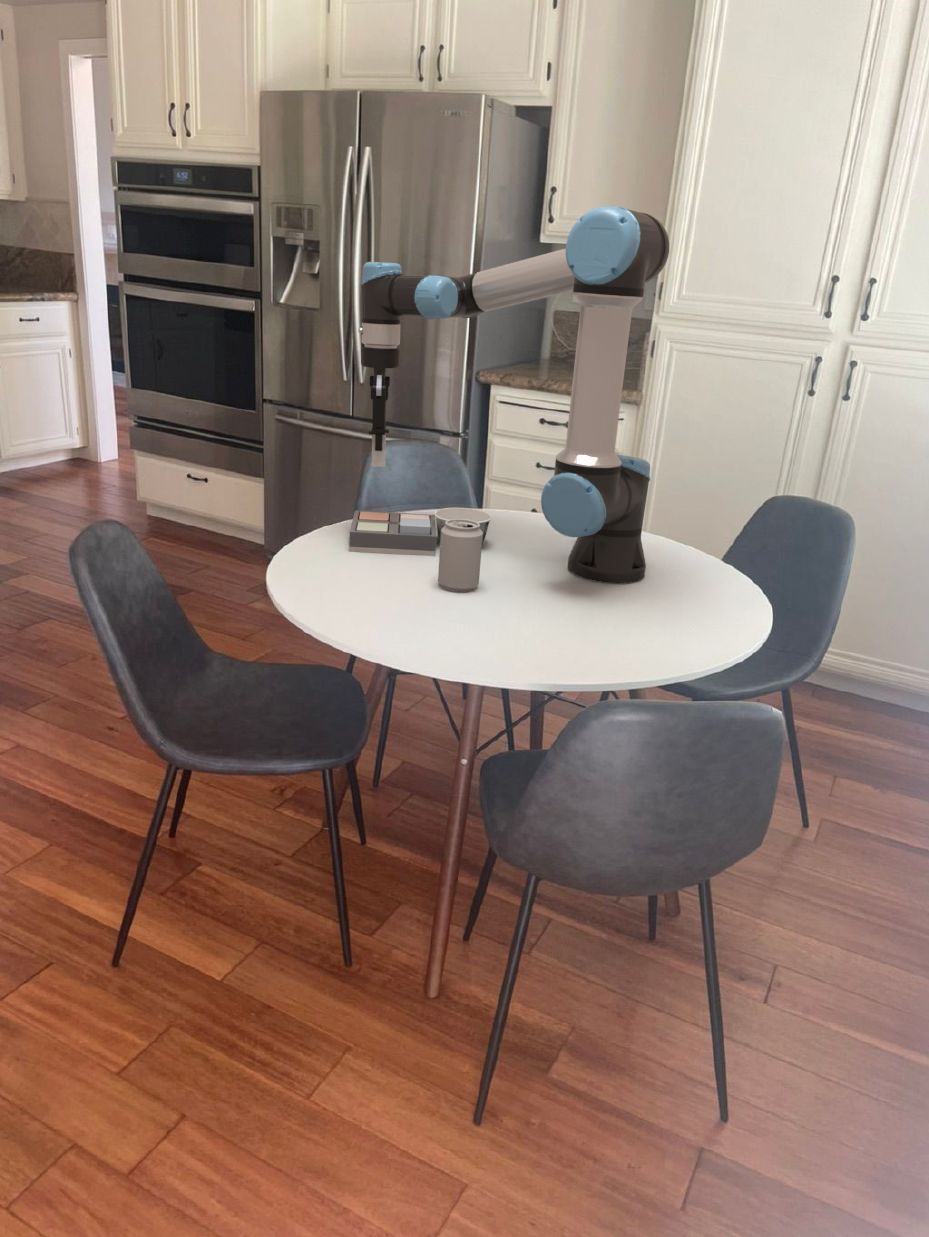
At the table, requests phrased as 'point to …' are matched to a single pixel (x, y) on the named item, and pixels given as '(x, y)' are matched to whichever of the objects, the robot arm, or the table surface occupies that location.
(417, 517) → the key
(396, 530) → the keypad
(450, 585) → the can
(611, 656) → the table surface
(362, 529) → the key
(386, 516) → the key
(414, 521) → the key
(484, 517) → the food container
